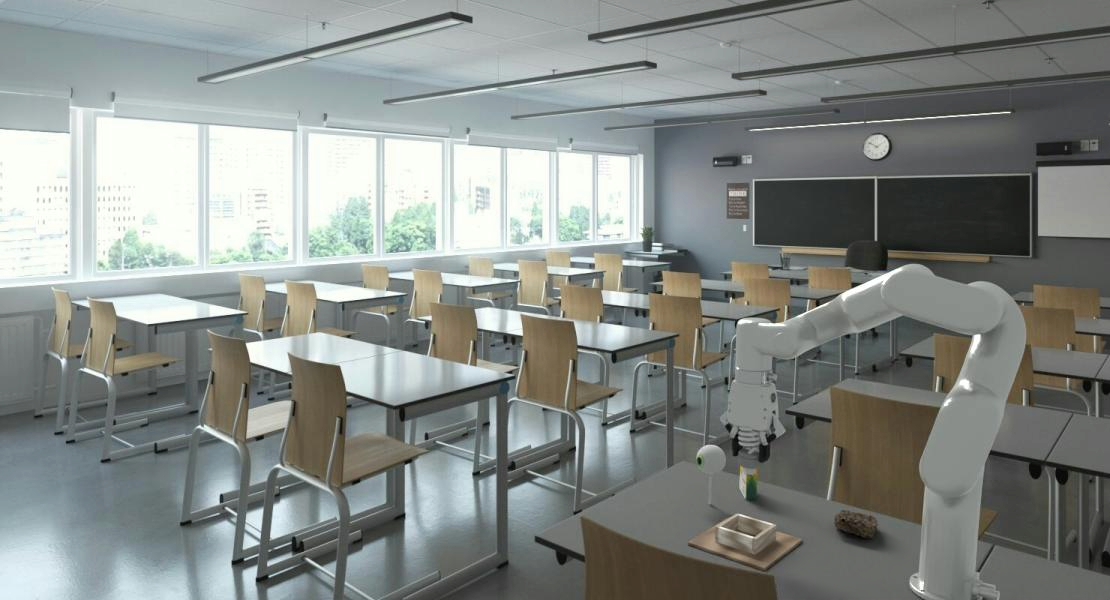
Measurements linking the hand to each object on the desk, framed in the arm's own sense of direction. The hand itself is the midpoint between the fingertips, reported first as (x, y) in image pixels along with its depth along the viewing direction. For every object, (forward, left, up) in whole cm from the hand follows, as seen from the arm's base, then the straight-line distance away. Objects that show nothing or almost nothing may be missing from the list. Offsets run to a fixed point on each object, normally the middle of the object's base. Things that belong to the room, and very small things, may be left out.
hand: (750, 457), depth 169 cm
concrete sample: (-16, -21, -20) cm, 33 cm away
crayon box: (+13, -25, -20) cm, 35 cm away
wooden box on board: (0, +1, -19) cm, 19 cm away
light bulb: (0, 0, -4) cm, 4 cm away
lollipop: (+17, -13, -20) cm, 29 cm away
